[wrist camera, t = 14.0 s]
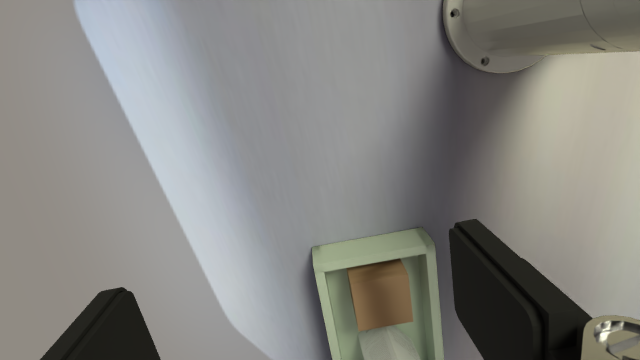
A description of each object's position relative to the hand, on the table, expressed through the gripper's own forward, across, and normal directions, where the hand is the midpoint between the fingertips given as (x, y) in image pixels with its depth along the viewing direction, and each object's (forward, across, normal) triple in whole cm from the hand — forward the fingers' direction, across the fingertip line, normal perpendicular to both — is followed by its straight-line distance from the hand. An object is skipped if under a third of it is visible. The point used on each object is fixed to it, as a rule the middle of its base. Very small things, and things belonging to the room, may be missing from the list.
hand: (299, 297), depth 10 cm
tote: (+28, -5, +24) cm, 37 cm away
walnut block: (+28, -5, +19) cm, 34 cm away
